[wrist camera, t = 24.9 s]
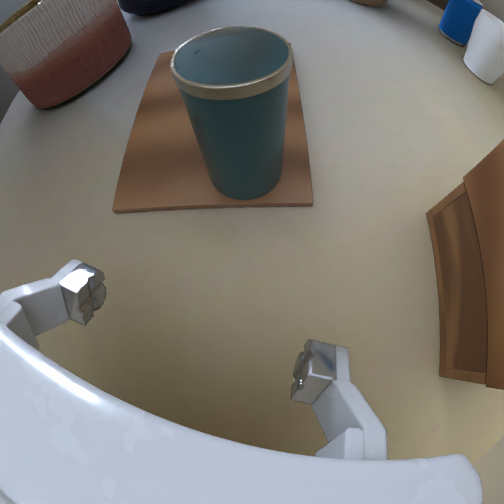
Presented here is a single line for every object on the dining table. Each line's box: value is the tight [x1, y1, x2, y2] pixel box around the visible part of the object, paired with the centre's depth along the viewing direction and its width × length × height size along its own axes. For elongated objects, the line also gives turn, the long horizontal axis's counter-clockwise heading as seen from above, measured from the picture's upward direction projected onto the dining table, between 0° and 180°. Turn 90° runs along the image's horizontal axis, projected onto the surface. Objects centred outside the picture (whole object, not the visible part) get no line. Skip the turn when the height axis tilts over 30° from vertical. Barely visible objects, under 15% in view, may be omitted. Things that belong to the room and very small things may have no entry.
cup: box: [463, 9, 504, 84], centre depth 21 cm, size 9×9×12 cm
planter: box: [0, 0, 131, 108], centre depth 21 cm, size 18×18×16 cm
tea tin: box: [170, 26, 293, 200], centre depth 16 cm, size 6×6×11 cm
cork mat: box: [112, 43, 313, 213], centre depth 24 cm, size 22×16×1 cm
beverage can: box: [439, 0, 483, 45], centre depth 24 cm, size 6×6×12 cm
